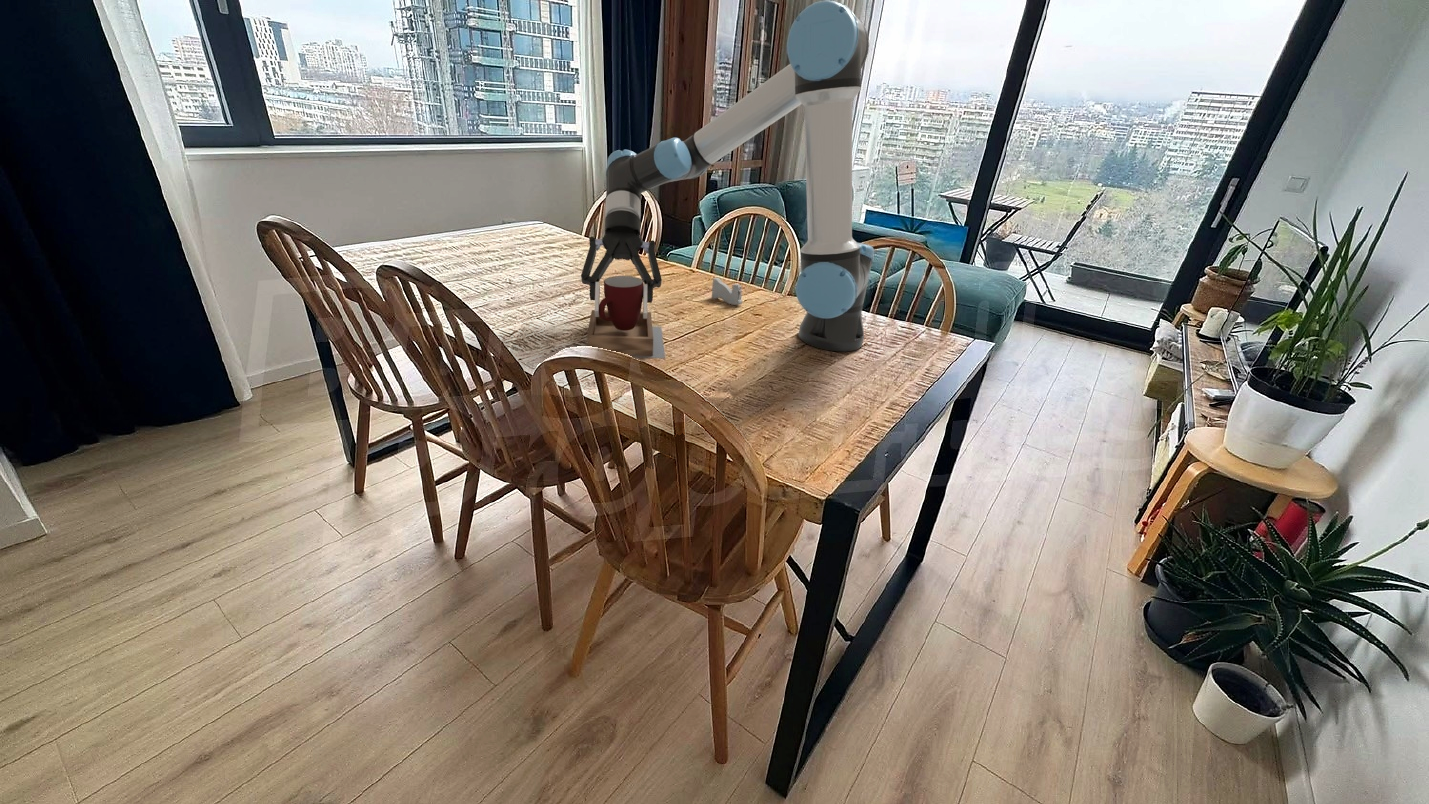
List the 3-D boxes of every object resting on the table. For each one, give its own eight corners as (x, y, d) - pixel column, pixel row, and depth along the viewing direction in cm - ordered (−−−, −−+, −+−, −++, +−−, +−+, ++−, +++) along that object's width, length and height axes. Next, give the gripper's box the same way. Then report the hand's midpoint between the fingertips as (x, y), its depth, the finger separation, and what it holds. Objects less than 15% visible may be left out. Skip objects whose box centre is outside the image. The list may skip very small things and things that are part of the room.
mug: (618, 341, 115) (617, 293, 110) (589, 331, 118) (586, 284, 114) (651, 326, 123) (651, 281, 118) (622, 317, 126) (621, 273, 122)
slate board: (661, 330, 131) (661, 326, 131) (665, 362, 116) (665, 358, 115) (590, 328, 129) (590, 324, 128) (584, 360, 113) (584, 356, 113)
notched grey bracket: (714, 297, 158) (743, 306, 152) (711, 298, 157) (740, 307, 151) (716, 277, 155) (745, 285, 150) (713, 278, 154) (742, 286, 149)
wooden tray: (650, 327, 130) (650, 312, 128) (652, 356, 116) (653, 338, 114) (592, 325, 128) (591, 309, 126) (587, 354, 114) (586, 336, 112)
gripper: (672, 232, 127) (673, 324, 121) (572, 226, 124) (567, 320, 118) (675, 211, 120) (676, 308, 114) (569, 204, 117) (564, 304, 110)
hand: (621, 314), depth 116 cm, fingers closed on mug, 9 cm apart
